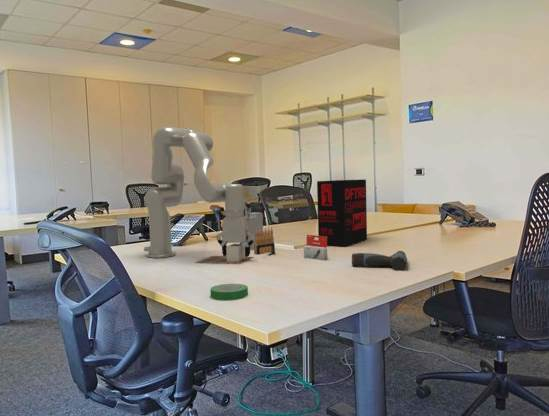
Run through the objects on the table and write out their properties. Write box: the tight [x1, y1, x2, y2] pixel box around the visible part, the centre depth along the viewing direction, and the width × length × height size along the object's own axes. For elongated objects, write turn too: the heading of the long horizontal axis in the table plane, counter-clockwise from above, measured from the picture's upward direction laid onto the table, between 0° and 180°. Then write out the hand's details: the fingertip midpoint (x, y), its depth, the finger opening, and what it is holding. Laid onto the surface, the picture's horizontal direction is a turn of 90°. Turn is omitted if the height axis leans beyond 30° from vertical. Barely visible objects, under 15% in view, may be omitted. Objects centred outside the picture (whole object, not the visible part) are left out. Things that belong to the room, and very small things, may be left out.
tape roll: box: [209, 283, 249, 301], centre depth 135 cm, size 11×11×3 cm
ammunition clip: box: [253, 227, 276, 256], centre depth 202 cm, size 11×2×12 cm, turn 132°
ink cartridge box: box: [303, 234, 329, 261], centre depth 190 cm, size 2×11×10 cm, turn 47°
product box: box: [316, 179, 368, 248], centre depth 232 cm, size 26×14×32 cm, turn 145°
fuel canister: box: [239, 201, 264, 251], centre depth 222 cm, size 15×5×25 cm, turn 144°
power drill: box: [351, 250, 408, 271], centre depth 173 cm, size 5×19×20 cm
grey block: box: [226, 243, 246, 262], centre depth 186 cm, size 5×8×6 cm, turn 163°
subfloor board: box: [194, 255, 255, 265], centre depth 187 cm, size 20×16×1 cm
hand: (236, 256), depth 186 cm, fingers open, 9 cm apart
